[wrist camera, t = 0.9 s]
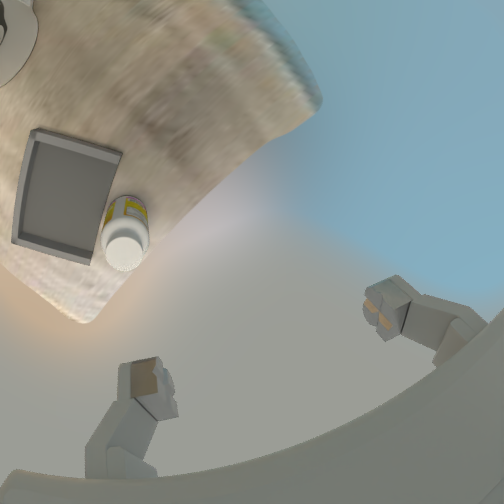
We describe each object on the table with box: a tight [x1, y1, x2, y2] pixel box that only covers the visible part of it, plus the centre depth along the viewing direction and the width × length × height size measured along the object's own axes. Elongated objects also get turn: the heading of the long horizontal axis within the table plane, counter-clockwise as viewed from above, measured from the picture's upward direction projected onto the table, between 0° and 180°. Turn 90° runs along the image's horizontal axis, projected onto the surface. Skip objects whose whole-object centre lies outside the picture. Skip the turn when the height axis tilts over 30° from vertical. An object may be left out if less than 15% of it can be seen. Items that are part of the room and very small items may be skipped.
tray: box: [11, 128, 122, 266], centre depth 33 cm, size 15×18×3 cm
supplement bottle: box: [101, 196, 149, 271], centre depth 35 cm, size 7×7×13 cm
